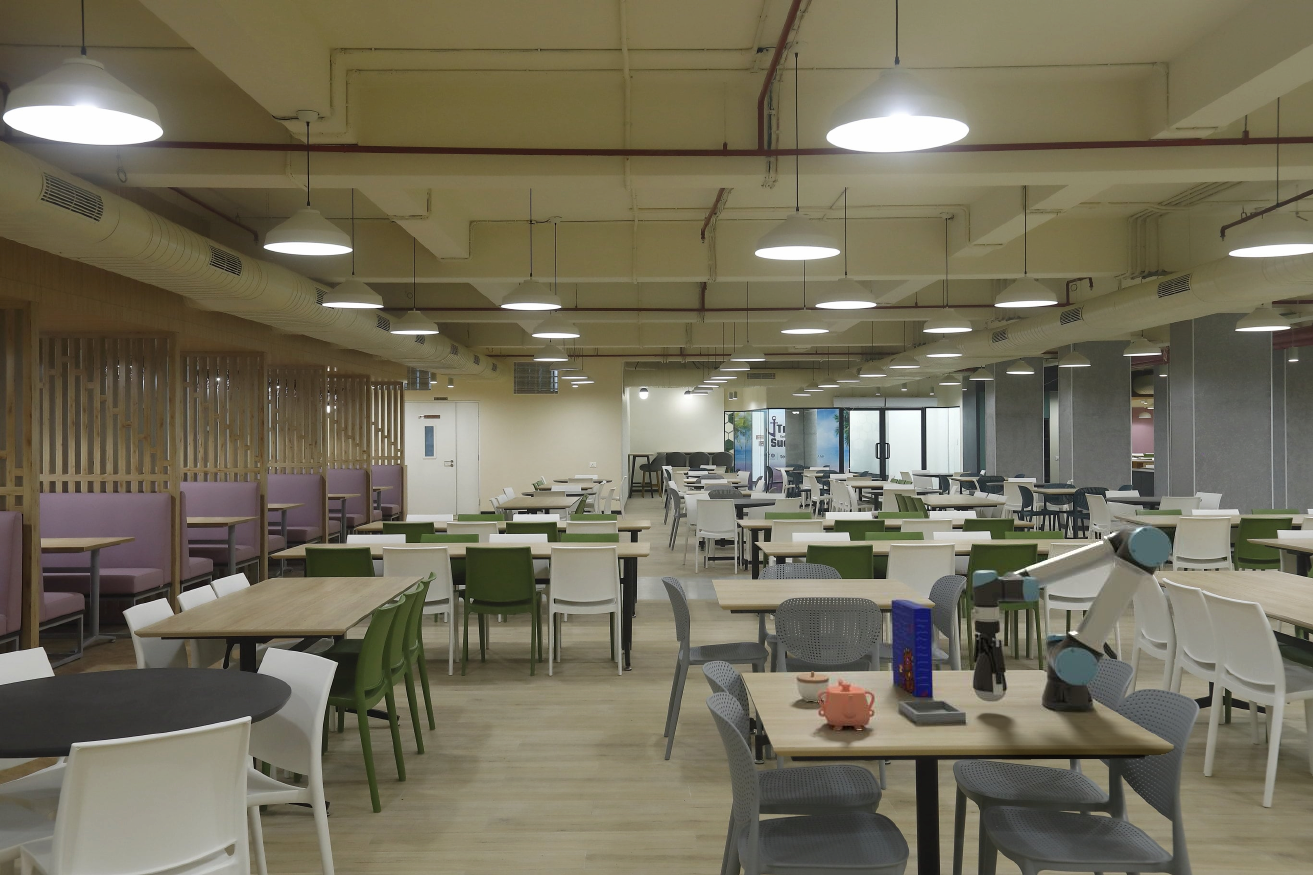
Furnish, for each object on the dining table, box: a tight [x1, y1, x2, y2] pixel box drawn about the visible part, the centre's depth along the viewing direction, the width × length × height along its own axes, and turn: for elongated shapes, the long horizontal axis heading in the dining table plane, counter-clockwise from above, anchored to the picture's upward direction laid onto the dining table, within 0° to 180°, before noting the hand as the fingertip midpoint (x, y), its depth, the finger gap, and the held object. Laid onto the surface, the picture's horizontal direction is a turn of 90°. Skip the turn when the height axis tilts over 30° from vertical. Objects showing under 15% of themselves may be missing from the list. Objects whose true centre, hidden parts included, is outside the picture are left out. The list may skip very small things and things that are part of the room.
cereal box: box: [891, 599, 934, 698], centre depth 316 cm, size 22×6×30 cm, turn 5°
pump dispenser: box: [972, 651, 1008, 703], centre depth 285 cm, size 10×10×15 cm
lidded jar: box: [796, 671, 830, 703], centre depth 302 cm, size 11×11×9 cm
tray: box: [897, 699, 967, 725], centre depth 280 cm, size 15×15×3 cm
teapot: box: [817, 678, 876, 730], centre depth 271 cm, size 15×17×13 cm
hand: (990, 690), depth 284 cm, fingers closed on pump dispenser, 10 cm apart
